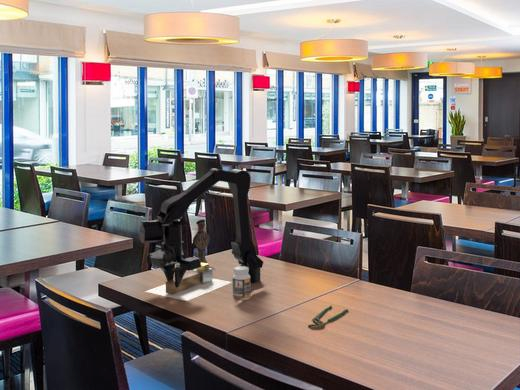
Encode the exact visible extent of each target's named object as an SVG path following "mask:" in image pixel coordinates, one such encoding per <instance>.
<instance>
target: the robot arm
mask: <svg viewBox="0 0 520 390" xmlns="http://www.w3.org/2000/svg"><path fill="white" fill-rule="evenodd" d="M251 180H252V179H251V174H250V173H249V172H248V171H247V170H243V169H237V168H233V169H230V170H224V169H220V168H214V167H212V168H210V169H209V170H208V172H207V173H205V174H204V175H203V176H201V177H200V178H198V180H196V181H194V183H192V184H191V185H190V186H189V187H188V188H186V189H185V190H184V191H183V192H181V193H179V194H178V193H177V194H176V195H173V196H171V197H170V198H168V199H166V200H164V201H163V202H162V203H161V206H160V209H159V211H158V213H157V215H156V216H155V218H154V220H141V221H140V223H141V224H140V226H139V230H138V235H139V236H138V237H139V240H140V242H141V243H145V244H146V243H152V242H160V241H161V240H163V242H162V243H160V249H158V250H156V251H155V252H151V253H148V254H147V256H146V264H150V265H151V264H152V266H153V267H158V268H159V269H160V270H162V271H163V273H164V276H165V278H166V280H167V281H170V280H173V279H175V286H176V288H177V287H179V285H180V283H181V280H182V278H183V276H184V275H186V272H187V271H189V272H190V271H193V270H195V269H196V268H199V267H201V261H200V259H199V257H198V258H196V257H193V256H192V257H191V256H190V257H186V255H185V254H184V253H183V246H185V241H183V239H182V238H183V235H182V233H183V232H182V230H183V229H182V226H188V224H189V223H188V222H187V221H186V220H185V219H184V217H183V216H184V215H185V213H187V211H188V210H189V208H190V206H191V205H192V203H193V202H195V201H196V200H197V199H199V198H200V197H201V196H203V194H205V193H206V192H207V191H208V190H210V189H211V188H212V187H213V186H215V185H216V184H217V183H218V182H225V183H227V184H228V189H229V191H230V193H231V194H232V197H233V200H232V201H233V207H234V220H235V221H234V222H235V233H236V234H235V235H236V239H235V241H234V242H232V241H231V243H230V246H231V254H232V255H233V258H234V259H235V260H237V263H238V264H239V265H240V266H245V267H248V268H249V272H248V274H249V275H250V277H251V284H257V283H259V282H261V268H263V264H264V261H263V260H262V259H261V258H260V257H259V256H258V253H257V250H256V245H255V243H254V241H253V239H252V237H251V229H250V227H251V226H250V217H249V214H250V213H249V204H248V202H249V201H248V194H249V191H250V189H251ZM185 257H186V258H185ZM167 281H166V282H167Z"/></svg>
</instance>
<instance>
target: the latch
mask: <svg viewBox="0 0 520 390" xmlns="http://www.w3.org/2000/svg"><path fill="white" fill-rule="evenodd" d="M209 268H210V263H201V267H199V268H196V270H201V271H205V270H208V269H209Z"/></svg>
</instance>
